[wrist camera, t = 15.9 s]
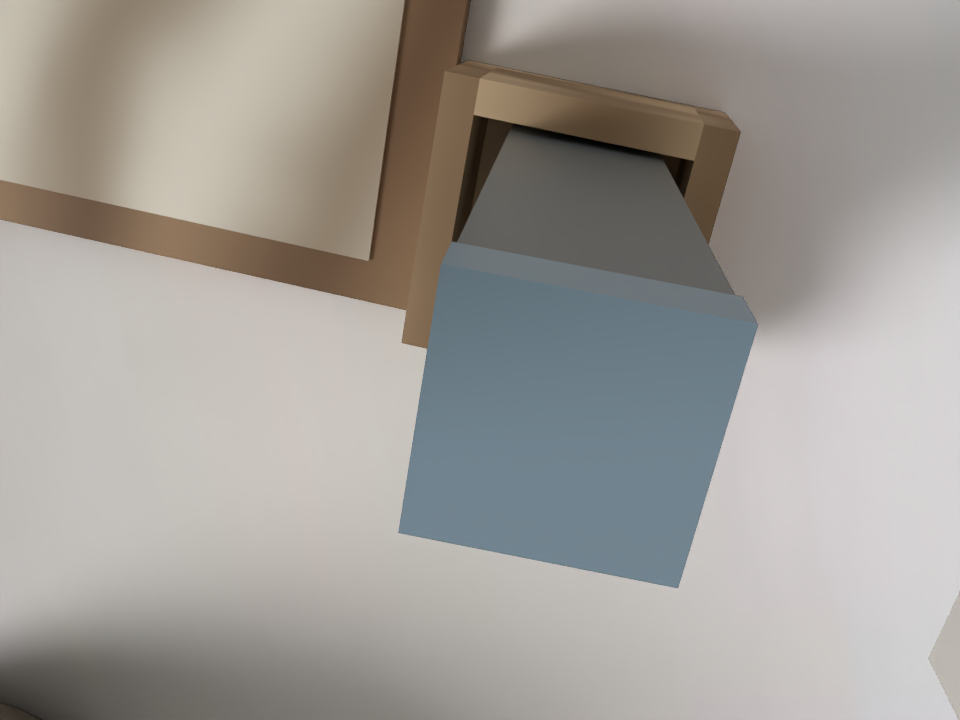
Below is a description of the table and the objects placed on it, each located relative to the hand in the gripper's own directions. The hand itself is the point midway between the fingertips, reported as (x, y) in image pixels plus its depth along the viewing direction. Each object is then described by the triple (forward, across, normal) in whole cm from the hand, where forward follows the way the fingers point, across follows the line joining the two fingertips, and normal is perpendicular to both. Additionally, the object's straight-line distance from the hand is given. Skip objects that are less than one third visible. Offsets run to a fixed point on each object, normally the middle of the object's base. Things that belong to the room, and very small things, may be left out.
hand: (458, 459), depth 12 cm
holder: (+14, +1, 0) cm, 14 cm away
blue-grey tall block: (+14, +1, +1) cm, 14 cm away
